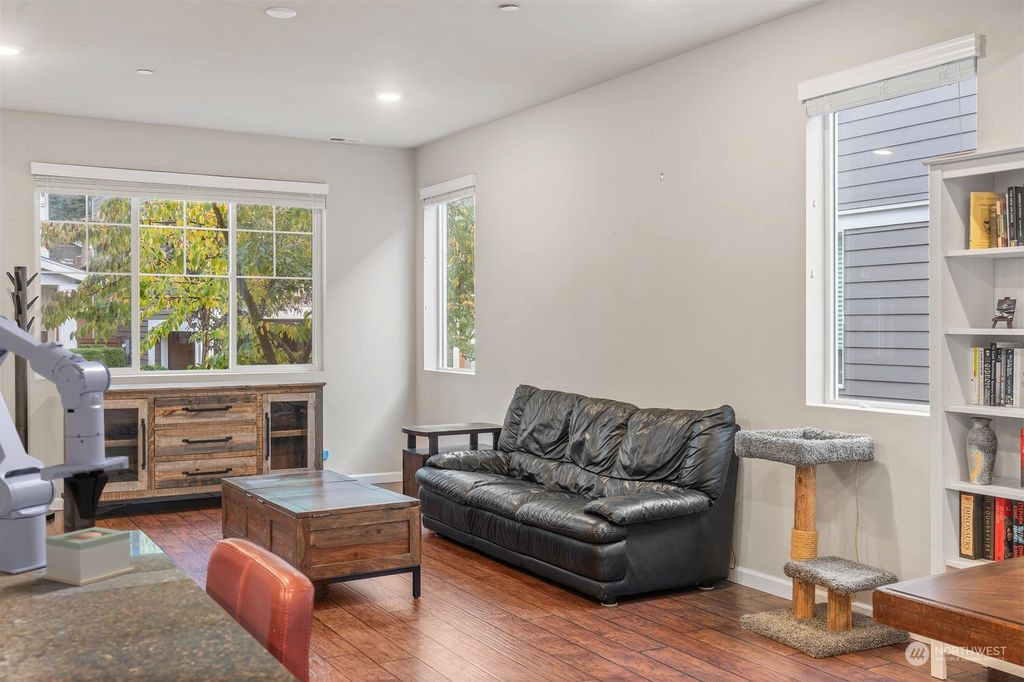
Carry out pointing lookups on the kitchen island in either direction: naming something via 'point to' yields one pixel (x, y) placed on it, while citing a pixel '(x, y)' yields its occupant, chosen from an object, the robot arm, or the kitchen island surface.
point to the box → (73, 515)
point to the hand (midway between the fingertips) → (87, 518)
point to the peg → (87, 535)
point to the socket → (87, 556)
